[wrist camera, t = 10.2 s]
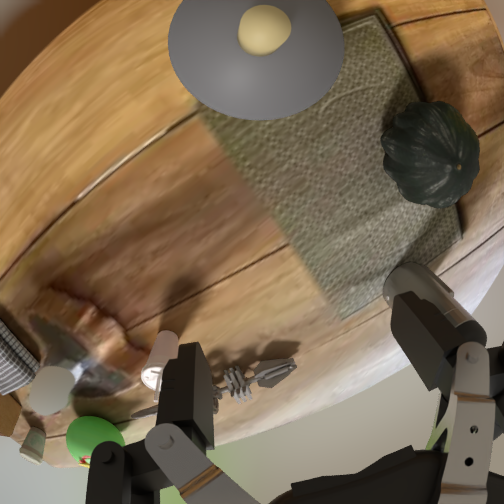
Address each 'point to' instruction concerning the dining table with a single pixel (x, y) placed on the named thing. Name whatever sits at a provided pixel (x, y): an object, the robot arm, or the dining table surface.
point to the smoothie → (159, 360)
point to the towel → (14, 362)
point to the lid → (256, 54)
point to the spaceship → (242, 383)
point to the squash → (431, 154)
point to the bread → (8, 414)
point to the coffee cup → (33, 446)
